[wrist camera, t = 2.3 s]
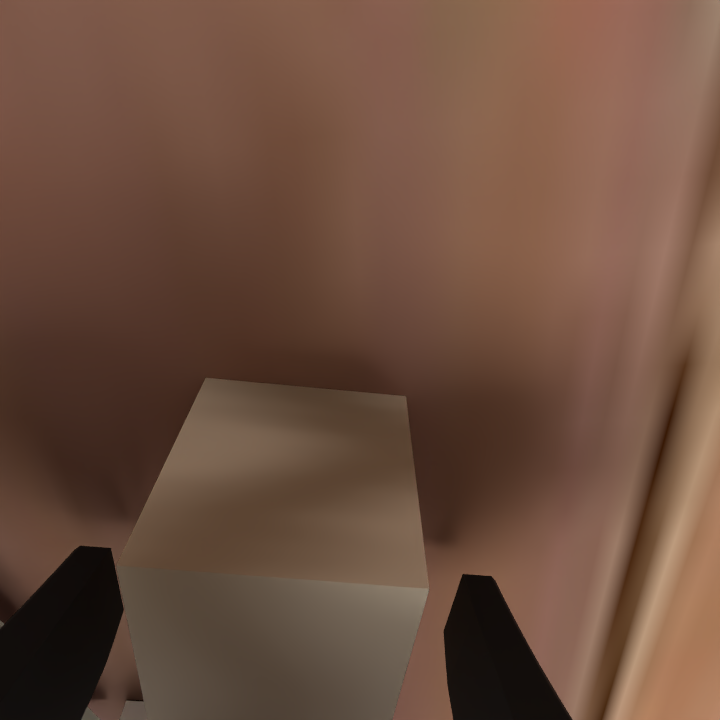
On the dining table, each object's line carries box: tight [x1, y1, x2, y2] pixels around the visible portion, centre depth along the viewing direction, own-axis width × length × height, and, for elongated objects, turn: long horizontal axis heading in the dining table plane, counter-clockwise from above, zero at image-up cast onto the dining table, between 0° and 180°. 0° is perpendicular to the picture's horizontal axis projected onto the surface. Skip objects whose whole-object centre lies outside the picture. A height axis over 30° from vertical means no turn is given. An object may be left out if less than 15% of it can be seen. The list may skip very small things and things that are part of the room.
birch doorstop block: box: [116, 378, 429, 720], centre depth 11 cm, size 4×8×4 cm, turn 174°
